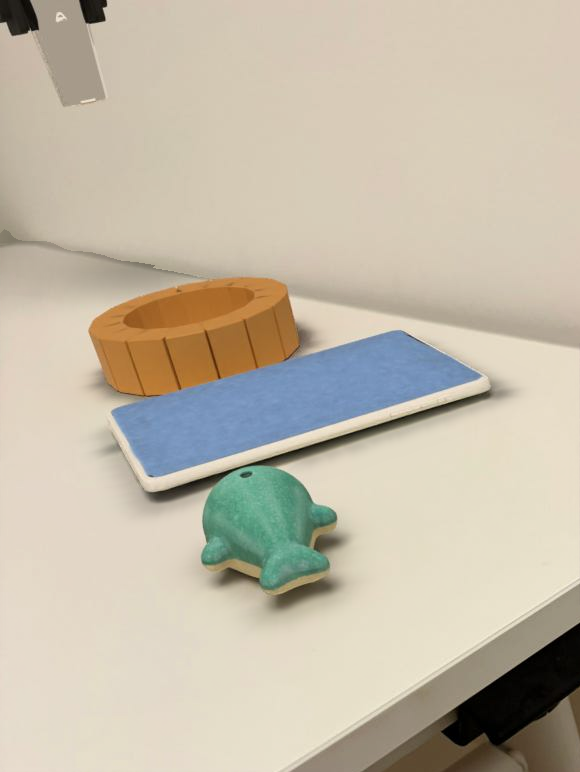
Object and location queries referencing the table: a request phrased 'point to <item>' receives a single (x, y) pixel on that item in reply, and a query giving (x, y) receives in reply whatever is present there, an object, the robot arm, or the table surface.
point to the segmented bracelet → (194, 334)
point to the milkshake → (67, 49)
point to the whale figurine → (265, 528)
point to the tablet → (286, 407)
